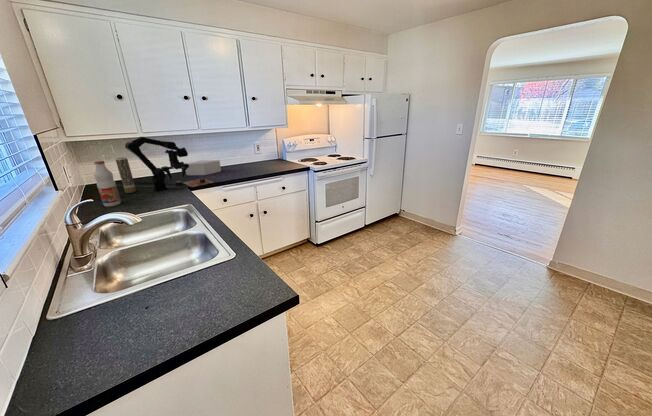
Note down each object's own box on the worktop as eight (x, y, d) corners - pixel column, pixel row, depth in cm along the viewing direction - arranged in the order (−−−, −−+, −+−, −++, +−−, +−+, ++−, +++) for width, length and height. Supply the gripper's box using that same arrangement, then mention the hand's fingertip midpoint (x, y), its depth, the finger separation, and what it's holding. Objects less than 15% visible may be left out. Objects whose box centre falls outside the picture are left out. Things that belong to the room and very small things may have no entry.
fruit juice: (125, 202, 176) (112, 160, 165) (109, 207, 167) (95, 163, 157) (115, 201, 179) (102, 159, 168) (100, 205, 171) (85, 162, 160)
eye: (201, 183, 215) (200, 179, 214) (199, 182, 217) (198, 178, 216) (206, 182, 217) (205, 178, 216) (204, 181, 220) (203, 177, 219)
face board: (191, 187, 207) (191, 186, 207) (182, 183, 219) (182, 182, 218) (214, 182, 219) (213, 181, 219) (204, 178, 231) (204, 177, 230)
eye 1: (177, 186, 211) (176, 182, 210) (175, 185, 213) (174, 181, 212) (182, 185, 213) (182, 181, 212) (181, 184, 216) (180, 180, 215)
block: (186, 173, 249) (183, 162, 245) (220, 169, 262) (218, 159, 259) (187, 177, 237) (184, 165, 233) (222, 172, 250) (220, 161, 246)
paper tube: (130, 193, 193) (120, 159, 184) (123, 193, 195) (112, 159, 186) (138, 190, 200) (129, 157, 191) (131, 190, 201) (121, 157, 192)
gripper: (163, 161, 194) (168, 182, 200) (190, 157, 207) (193, 177, 212) (158, 159, 201) (163, 179, 207) (184, 156, 214) (188, 175, 219)
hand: (177, 177), depth 211 cm, fingers open, 9 cm apart
